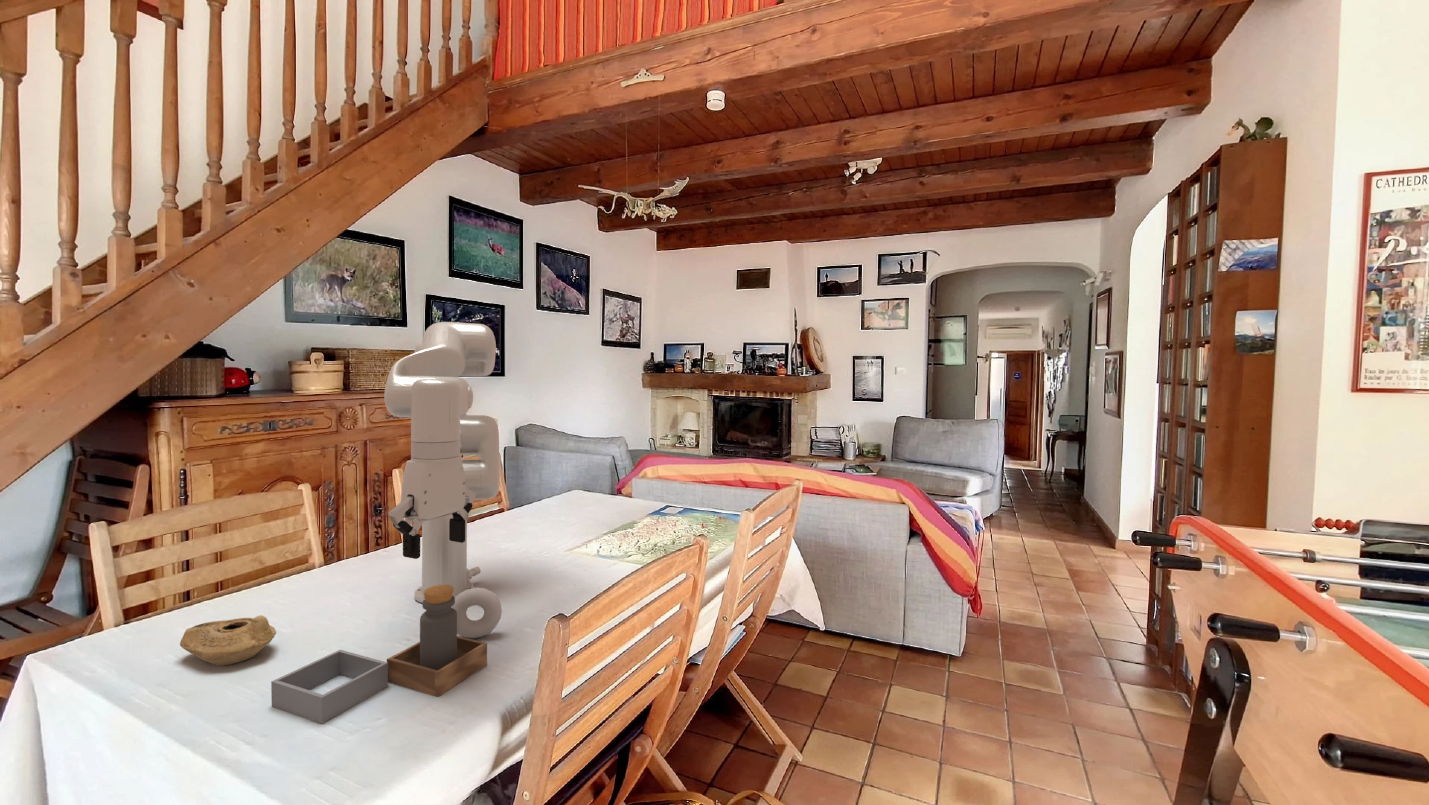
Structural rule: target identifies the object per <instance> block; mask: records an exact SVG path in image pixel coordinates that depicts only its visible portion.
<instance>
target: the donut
mask: <svg viewBox="0 0 1429 805" xmlns="http://www.w3.org/2000/svg"><path fill="white" fill-rule="evenodd" d="M472 606H478V607H480V608H482V609H483V615H482V617H481V618H479V619H475V620H474V619H470V618H469V617H468V614H467V611H468V609H469V608H470V607H472ZM451 608H453V609H455V610H456V611H457V636H460V637H464V638H468V639H478V638H481V637H484V636H486V635H488V634H489V633H491V632H492V631H494V629H495V628H497V625H499V622H500V620H501V616H502V613H503V609H502V603H501V601H500V599H499V598H498V595H497V594H496V593H494V592H493V591H492V590H489V589H488V588H485V587H474V588H471V589H467V590H465V591H463V592H461V593H460V594H459V595H458V596H457V597H456V598H455V603H454V605H453V606H451Z"/></svg>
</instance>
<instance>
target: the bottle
mask: <svg viewBox="0 0 1429 805" xmlns="http://www.w3.org/2000/svg"><path fill="white" fill-rule="evenodd" d="M453 590H454V588H453V586H450V585H436V586H432V587H429V588H427V589H425V590H424V596H425V600H424V601H423V603H421V604H422V609H424V610H425V611H424V612H423V613H422V614H421V615H420V618H419V642H420V666H423V667H427V668H431V669H434V670H439V669H441V668H443V667H444V666H446V665H448V664H449V663H451V662H453V661H454V660H456V659H457V636H458V634H457V611H456V610H455V609H453V608H451V606H453V605H454V603H455V597H454V596H452V594H453Z"/></svg>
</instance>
